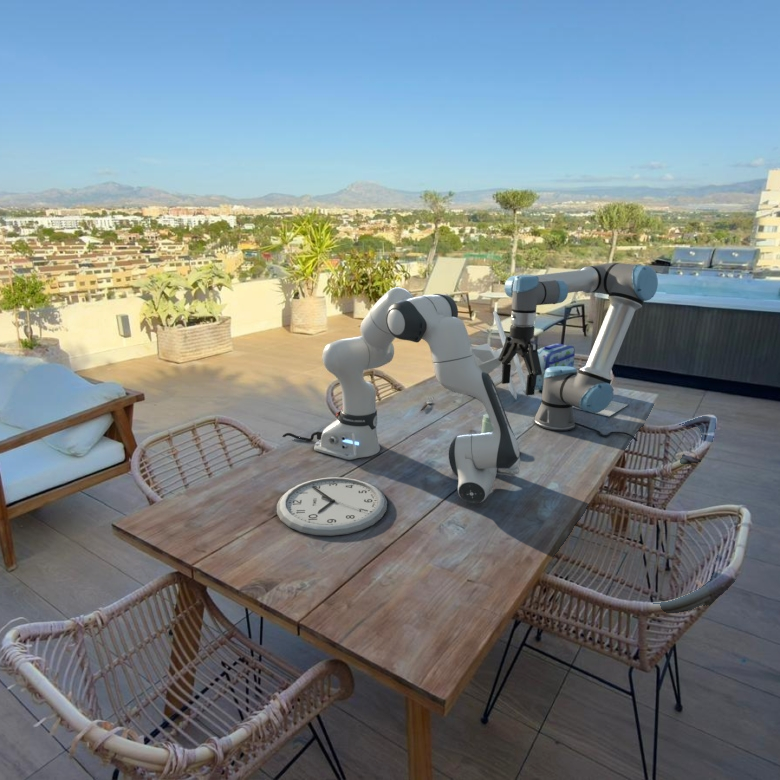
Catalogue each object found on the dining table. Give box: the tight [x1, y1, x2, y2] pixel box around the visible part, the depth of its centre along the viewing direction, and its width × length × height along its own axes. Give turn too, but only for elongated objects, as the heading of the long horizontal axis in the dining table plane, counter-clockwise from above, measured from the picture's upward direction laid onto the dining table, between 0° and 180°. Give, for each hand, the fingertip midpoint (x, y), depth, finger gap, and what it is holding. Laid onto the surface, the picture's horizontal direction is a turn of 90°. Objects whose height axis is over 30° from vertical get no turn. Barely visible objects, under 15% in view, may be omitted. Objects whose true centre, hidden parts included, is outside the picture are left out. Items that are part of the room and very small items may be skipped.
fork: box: [420, 396, 435, 411], centre depth 223 cm, size 3×16×2 cm, turn 160°
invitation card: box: [573, 400, 629, 418], centre depth 226 cm, size 21×1×15 cm
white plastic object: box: [472, 310, 530, 400], centre depth 245 cm, size 37×45×31 cm
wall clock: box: [276, 476, 388, 537], centre depth 142 cm, size 30×2×30 cm
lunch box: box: [532, 343, 576, 391], centre depth 249 cm, size 26×11×21 cm, turn 134°
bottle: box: [481, 412, 494, 433], centre depth 163 cm, size 5×5×18 cm
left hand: (489, 450), depth 164 cm, fingers open, 8 cm apart
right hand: (517, 388), depth 172 cm, fingers open, 13 cm apart
